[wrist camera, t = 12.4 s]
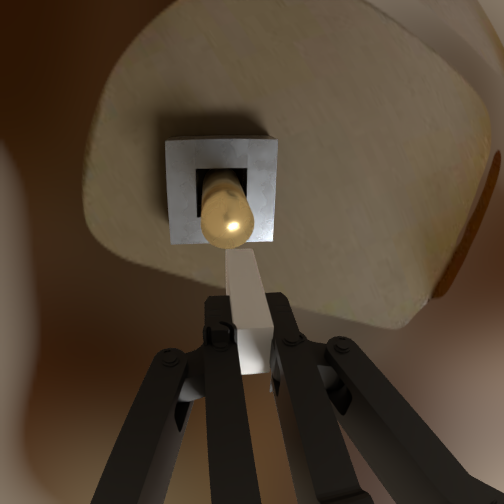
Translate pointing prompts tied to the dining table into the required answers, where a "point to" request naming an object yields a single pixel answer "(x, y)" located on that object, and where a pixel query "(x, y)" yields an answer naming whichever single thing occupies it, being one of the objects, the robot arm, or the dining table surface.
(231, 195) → the brass cylinder rod
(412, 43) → the dining table surface
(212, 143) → the block
